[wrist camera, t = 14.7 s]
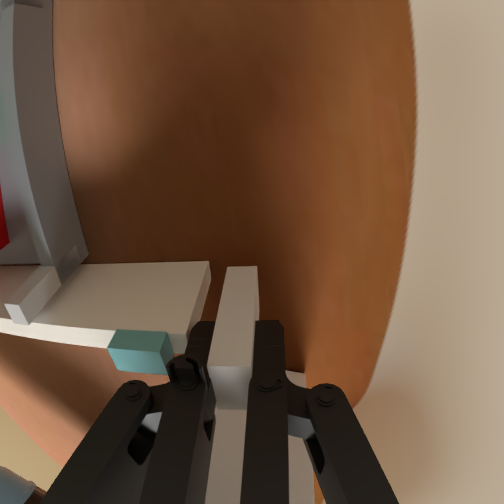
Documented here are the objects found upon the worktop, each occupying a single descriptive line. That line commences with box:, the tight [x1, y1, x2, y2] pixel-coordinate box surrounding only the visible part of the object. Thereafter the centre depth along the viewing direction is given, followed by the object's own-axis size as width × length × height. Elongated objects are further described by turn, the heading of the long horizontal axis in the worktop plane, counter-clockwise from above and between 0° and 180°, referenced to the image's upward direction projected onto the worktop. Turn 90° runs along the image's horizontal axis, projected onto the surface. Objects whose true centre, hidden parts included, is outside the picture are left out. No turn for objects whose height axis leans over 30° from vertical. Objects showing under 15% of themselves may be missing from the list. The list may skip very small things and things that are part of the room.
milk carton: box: [205, 370, 315, 504], centre depth 15 cm, size 7×7×19 cm
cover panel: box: [0, 261, 211, 375], centre depth 16 cm, size 1×18×7 cm, turn 93°
